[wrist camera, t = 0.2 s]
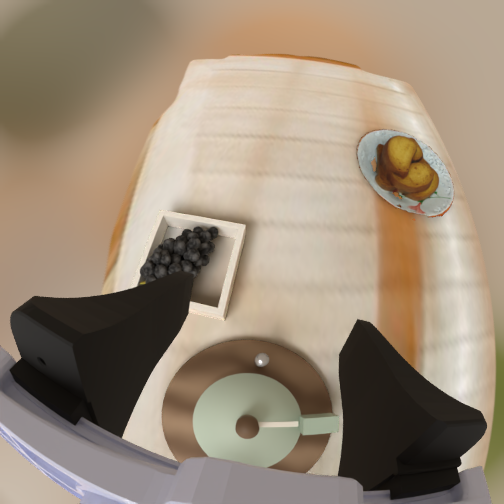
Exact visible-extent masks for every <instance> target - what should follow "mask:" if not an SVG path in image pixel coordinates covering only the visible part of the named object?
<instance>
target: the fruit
mask: <svg viewBox="0 0 504 504" xmlns="http://www.w3.org/2000/svg"><path fill="white" fill-rule="evenodd" d="M217 236H218V229H217V228H215V227H210V228H209V229H207V230H206V231H204V230H203V228H201V227H199V226H197V227H194V229H193V232H192V231H191V230H190V229H185V230H184V231H183V232H182V235H181V236H178V237H177V238H176V240H175V239H173V238H169V239H167V240H165V241H164V243H163V244H161V245H159V246H158V247H157V248H155V249H154V251H153V254H152V256H150V257H149V258H148V259H147V262H145V263H144V265H143V266H142V267H141V268H140V274H141V275H142V276H143V277H144V278H145V279H146V281H143V282H140V284H146V283H149V282H151V281H154V280H157V279H159V278H162V277H164V276H167V275H169V274H172V273H174V272H177V271H180V270H181V271H185V272H188V273H191V274H194V278H195V277H196V276H197V274H198V273H199V272H200V265H203V266H204V265H207V264H208V263H209V257H208V256H207V254H209V253H211V252H213V250H214V248H215V245H214V244H213V243H212V242H210V240H212V239H214V238H216V237H217ZM169 265H170V266H169Z"/></svg>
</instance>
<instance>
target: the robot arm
mask: <svg viewBox="0 0 504 504" xmlns="http://www.w3.org/2000/svg"><path fill="white" fill-rule="evenodd" d="M193 278H194V274H191V273H188V272H185V271H181V270H180V271H177V272H174V273H172V274H169V275H167V276H164V277H162V278H159V279H157V280H154V281H151V282H149V283H146V284H143V285H140V286H137V287H134V288H131V289H128V290H124V291H120V292H116V293H111V294H106V295H99V296H91V297H81V298H52V297H40V296H34V297H32V298H31V299H30V300H28V301H27V302H26V303H24V304H23V305H22V306H20V307H19V308H17V309H16V310H15V311H13V312H12V314H11V317H10V318H11V319H10V323H11V329H12V333H13V335H14V339H15V341H16V344H17V347H18V350H19V352H20V355H21V357H22V358H21V359H20V360H19V361H18V362H17V363H16V361H15V360H14V358H13V357H12V356H11V355H10V354H9V353H8V352H7V351H5V350H4V349H3V348H2V347H1V346H0V435H1V436H2V437H3V438H4V439H5V440H6V441H7V442H8V443H9V444H10V445H11V446H12V447H13V448H14V449H15V450H16V451H18V452H19V453H20V454H21V455H22V456H23V457H24V458H25V459H27V460H28V461H29V462H30V463H31V464H33V465H34V466H35V467H36V468H37V469H39V470H40V471H41V472H42V473H44V474H45V475H46V476H47V477H49V478H50V479H52V480H53V481H54V482H56V483H57V484H58V485H60V486H61V487H63V488H64V489H66V490H67V491H68V492H70V493H71V494H73V495H75V496H76V497H78V498H79V499H81V501H80V503H79V504H492V503H491V498H490V494H489V490H488V486H487V483H486V479H485V475H484V472H483V469H482V466H478V467H474V468H470V469H466V470H464V471H462V472H460V473H458V470H457V467H459V466H460V465H461V459H460V457H461V456H462V455H463V454H465V453H466V452H467V451H468V450H469V449H470V448H472V447H473V446H474V445H475V444H476V443H477V442H478V441H479V440H480V439H481V438H482V436H483V435H484V433H485V431H486V429H487V423H486V421H485V419H484V416H483V414H482V413H481V411H479V410H477V409H474V408H472V407H470V406H468V405H465V404H463V403H461V402H459V401H458V400H456V399H454V398H452V397H451V396H449V395H447V394H446V393H444V392H443V391H441V390H440V389H438V388H437V387H436V386H434V385H433V384H431V383H430V382H429V381H428V380H426V379H425V378H424V377H423V376H422V375H420V374H419V373H418V372H417V371H416V370H415V369H414V368H413V367H412V366H411V365H410V364H409V363H408V362H407V361H406V360H405V359H404V358H403V357H402V356H401V355H400V354H399V353H398V352H397V351H396V350H395V349H394V347H393V346H392V345H391V344H390V343H389V342H388V341H387V340H386V338H385V337H384V336H383V335H382V334H381V333H380V332H379V331H378V330H377V328H376V327H375V326H374V325H372V324H371V323H370V322H367V321H363V320H359V319H357V321H356V323H355V325H354V327H353V329H352V331H351V333H350V335H349V337H348V339H347V341H346V343H345V344H344V346H343V348H342V350H341V352H340V354H339V381H340V390H341V399H342V409H343V440H342V450H341V459H340V466H339V472H338V476H328V475H315V474H305V473H297V472H289V471H282V470H276V469H270V468H265V467H259V466H254V465H250V464H245V463H241V462H236V461H232V460H226V459H220V458H214V457H192V458H188V459H186V460H185V461H184V462H182V463H180V462H177V461H174V460H171V459H169V458H166V457H163V456H161V455H158V454H156V453H153V452H151V451H149V450H146V449H144V448H142V447H139V446H137V445H135V444H133V443H130V442H128V441H126V440H124V439H122V436H123V433H124V431H125V428H126V426H127V423H128V421H129V419H130V416H131V414H132V412H133V409H134V407H135V405H136V403H137V401H138V399H139V397H140V394H141V392H142V390H143V388H144V386H145V384H146V382H147V380H148V378H149V376H150V375H151V373H152V371H153V369H154V368H155V366H156V365H157V363H158V362H159V360H160V359H161V357H162V356H163V354H164V353H165V352H166V350H167V349H168V347H169V346H170V344H171V343H172V341H173V340H174V339H175V337H176V336H177V334H178V333H179V331H180V329H181V327H182V325H183V323H184V321H185V319H186V317H187V315H188V313H189V305H190V298H191V291H192V284H193Z"/></svg>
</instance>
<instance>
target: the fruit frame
mask: <svg viewBox="0 0 504 504" xmlns="http://www.w3.org/2000/svg"><path fill="white" fill-rule="evenodd" d="M168 226H171V227H176V228H182V229H190V230H192V231H193V229H194V227H197V226H199V227H201V228H203V230H204V231H206V230H207V229H209V228H210V227H215V228H217V229H218V235H219V236H224V237H229V238H235V243H234V247H233V250H232V254H231V258H230V262H229V266H228V270H227V273H226V277H225V281H224V285H223V289H222V293H221V297H220V301H219V305H218V308H217V307H212V306H208V305H204V304H199V303H195V302H191V301H190V305H189V312H190V313H194V314H198V315H202V316H206V317H211V318H215V319H219V320H224V321H225V318H226V314H227V310H228V305H229V301H230V297H231V293H232V289H233V285H234V281H235V277H236V273H237V268H238V264H239V260H240V256H241V252H242V248H243V244H244V240H245V236H246V225H244V224H238V223H233V222H228V221H222V220H217V219H211V218H205V217H200V216H194V215H188V214H182V213H176V212H170V211H164V210H160V211H159V213H158V216H157V218H156V221H155V223H154V226H153V228H152V230H151V233H150V235H149V238H148V241H147V243H146V246H145V248H144V251H143V254H142V256H141V259H140V262H139V265H138V267H137V270H136V273H135V276H134V279H133V282H132V284H131V287H130V289H131V288H134V287H137V286H140V285H143V284H140V282H143V281H146V279H145V278H144V277H143V276H142V275H141V274H140V268H141V267H142V266H143V265H144V263H145V262H147V259H148V258H149V257H150V256H152V254H153V251H154V249H155V248H157V247H158V246H159V245H161V243H162V240H163V238H164V235H165V232H166V230H167V227H168Z"/></svg>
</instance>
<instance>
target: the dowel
mask: <svg viewBox="0 0 504 504" xmlns="http://www.w3.org/2000/svg"><path fill="white" fill-rule="evenodd" d="M254 362H255V364H256V366H258V367H263V366H265V365H267V364H268V362H269V356H268V355H267V354H265V353H259V354H258V355H257V356H256V358H255V360H254Z"/></svg>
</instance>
